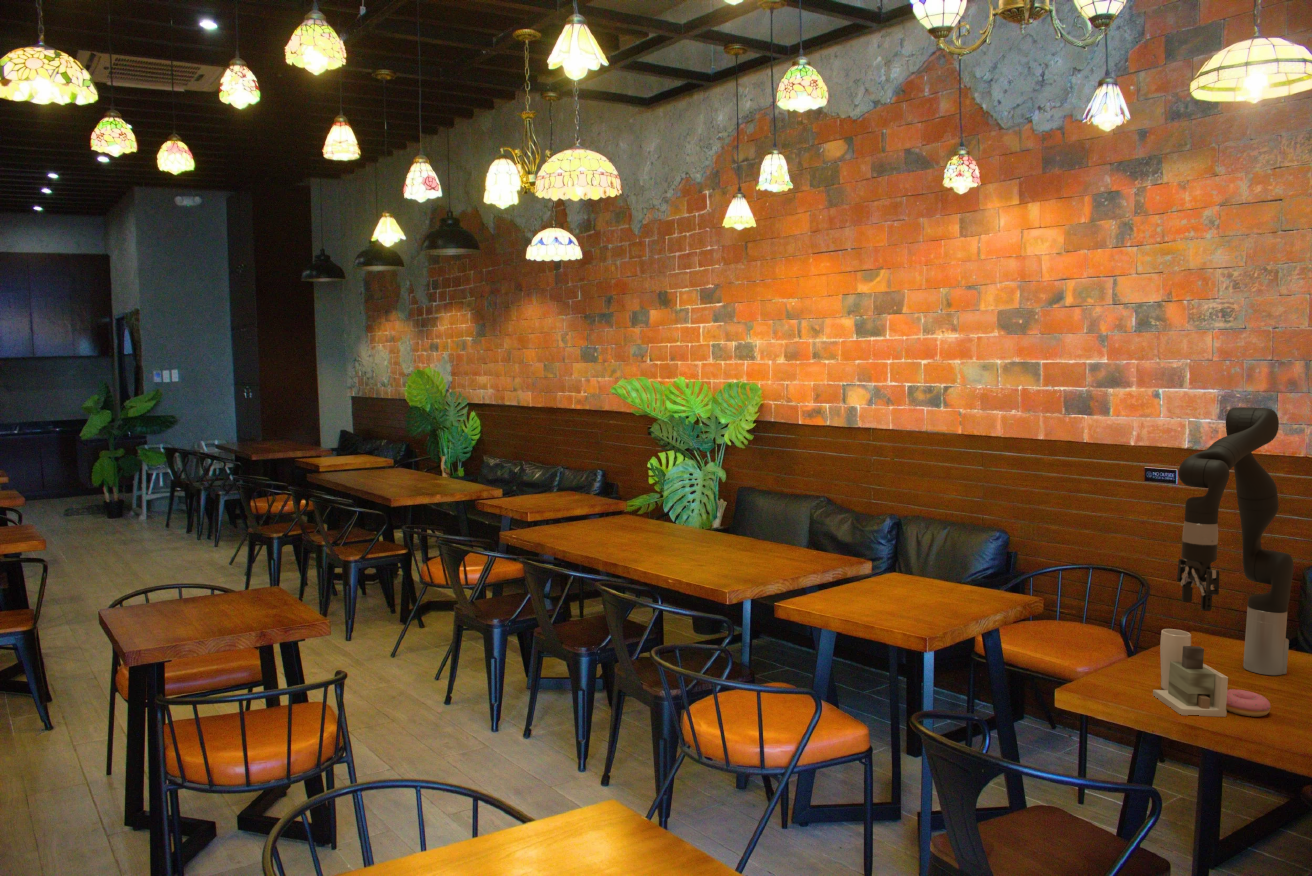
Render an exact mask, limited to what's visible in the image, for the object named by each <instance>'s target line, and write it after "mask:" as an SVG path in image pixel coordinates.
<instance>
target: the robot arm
mask: <svg viewBox="0 0 1312 876" xmlns="http://www.w3.org/2000/svg"><path fill="white" fill-rule="evenodd" d="M1225 416H1226V417H1225V432H1226V435H1225V436H1223V437H1221V438H1219V439H1217V440H1215V441H1214V442H1213V443H1212V444H1211V445H1210V446H1209V447H1207V449H1205V450H1202V451H1198V452H1196V453H1194V454H1191V455H1190V456H1188V457H1186V458H1184V460H1182V461H1181V464H1180V466H1179V468H1178V474H1177V475H1178V478H1179V480H1180V482H1181V483H1182V484H1183V485H1186V486H1188V487H1190V488H1192V487H1193V488H1201V489H1208V490H1207V492H1206V493H1205V495H1203V496H1193V497H1191V496H1190V497H1188V498H1187V499H1186V501H1185V507H1184V509H1185V511H1184V522H1183V526H1182V528H1183V529H1182V538H1181V555H1180V556H1181V558H1179V559H1178V563H1177V572H1176V573H1177V574H1176V581H1177V582H1178V583H1180V585H1181V601H1182V602H1184V603H1191V602H1192V601H1193V592H1194V591H1193V585H1194V584H1195V583H1196V586H1197V588H1198V589H1199V590H1200V593H1201V596H1200V610H1201V611H1203V612H1210V611H1212V603H1213V596H1219V594H1220V570H1219V569H1212V563H1215V562H1216V561H1217V560H1218V558H1217V557H1218V543H1219V529H1218V527H1219V526H1218V525H1219V524H1218V523H1219V509H1220V503H1221V500H1222V497H1223V494H1224V492H1225V489H1226V487H1227V484H1228V482H1229V479H1230V471H1231V469H1232V468H1233V469H1234V470H1233V471H1234V478H1235V479H1234V480H1235V489H1236V499H1237V505H1238V506H1237V507H1238V512H1239V518H1240V525H1241V538H1242V539H1241V540H1242V542H1241V543H1242V544H1241V545H1242V566H1243V567H1242V568H1243V572H1244V575H1245V577H1246V579H1248V580H1249V581H1251V582H1255V583H1259V584H1265V585H1271V587H1270V591H1268V592H1266V593H1260V594H1253V595H1250V596H1248V600H1247V609H1246V623H1245V624H1246V626H1245V635H1244V636H1245V637H1244V638H1245V639H1244V650H1243V651H1244V652H1243V663H1242V664H1243V666H1242V667H1243V669H1244V670H1247V671H1248V672H1252V673H1255V674H1259V675H1265V676H1281V675H1287V671H1288V658H1289V646H1290V645H1289V644H1290V640H1289V639H1288V638H1286V637H1287V636H1286V635H1287V625H1288V624H1287V620H1288V610H1289V609H1288V608H1289V602H1290V600H1291V599H1290V598H1291V590H1292V583H1293V582H1292V581H1293V575H1294V560H1293V557H1292V556H1291V554H1289V553H1286V552H1282V551H1276V550H1270V549H1265V548H1262V535H1263V534H1264V532H1265V530H1266V529H1267V527H1268V526H1269V525H1270V524H1271V522H1272V521H1273V520H1274V518H1275V517H1276V515H1277V513H1278V511H1279V508H1280V505H1279V495H1278V494H1279V493H1278V487H1277V484H1276V482H1275V481H1274V479H1273V478H1272V476H1271V475H1270V474H1269V473H1268V471H1267V470H1265V468H1264V467H1263V466H1262V465H1261V464H1260V463H1259V462H1258V460H1257V459H1256V458H1255V456H1254V454H1253V452H1254V451H1256V450H1259V448H1262V447H1264V446H1266V445H1268V444H1269V443H1271V442H1272V441H1273V440H1274V439H1275V438H1276V436H1277V435H1278V432H1279V428H1280V427H1279V426H1280V422H1279V417H1278V414H1277V412H1276V411H1275V410H1273V409H1272V408H1268V407H1245V406H1244V407H1242V406H1241V407H1240V406H1239V407H1238V406H1236V407H1231V408H1230V409H1229V410H1228V411H1227V413H1226V415H1225Z"/></svg>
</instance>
